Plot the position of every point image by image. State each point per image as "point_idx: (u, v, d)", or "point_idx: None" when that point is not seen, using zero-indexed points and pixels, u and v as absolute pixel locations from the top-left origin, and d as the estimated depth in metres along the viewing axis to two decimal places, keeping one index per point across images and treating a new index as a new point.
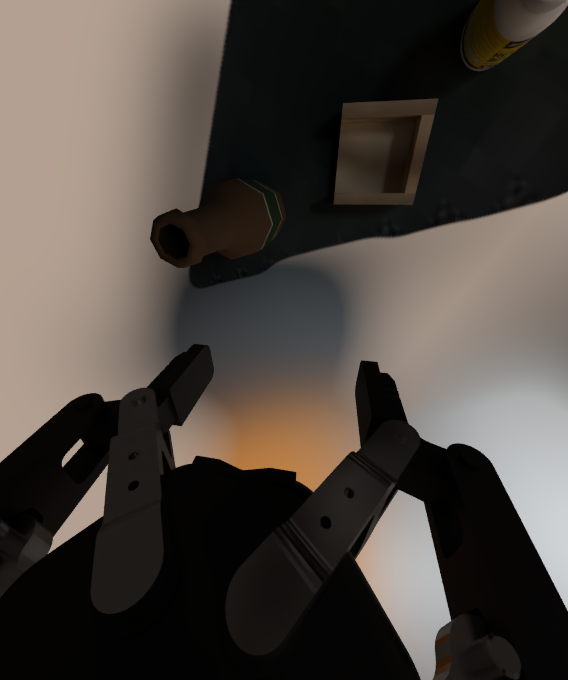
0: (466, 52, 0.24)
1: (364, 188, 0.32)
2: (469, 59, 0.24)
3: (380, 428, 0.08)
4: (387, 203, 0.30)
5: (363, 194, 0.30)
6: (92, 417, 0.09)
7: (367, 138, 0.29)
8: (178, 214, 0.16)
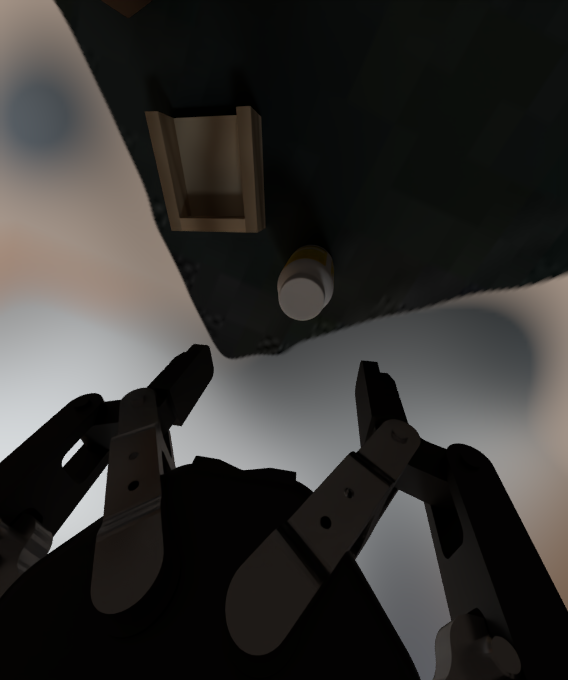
0: (296, 251, 0.27)
1: (187, 166, 0.25)
2: (291, 255, 0.27)
3: (380, 428, 0.08)
4: (165, 198, 0.24)
5: (166, 161, 0.23)
6: (92, 417, 0.09)
7: (233, 159, 0.24)
8: None
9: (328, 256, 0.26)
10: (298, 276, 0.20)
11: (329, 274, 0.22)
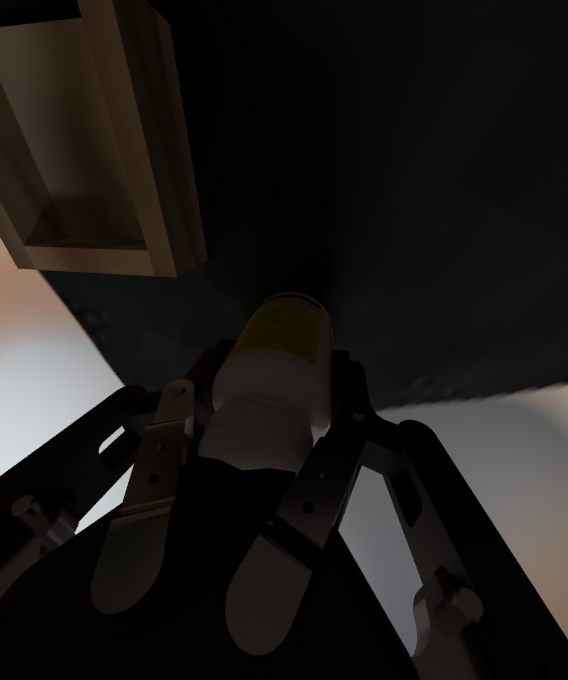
0: (262, 305, 0.14)
1: (35, 142, 0.12)
2: (255, 312, 0.15)
3: (341, 407, 0.09)
4: None
5: None
6: (137, 407, 0.09)
7: None
8: None
9: (323, 318, 0.14)
10: (238, 424, 0.07)
11: (324, 386, 0.10)
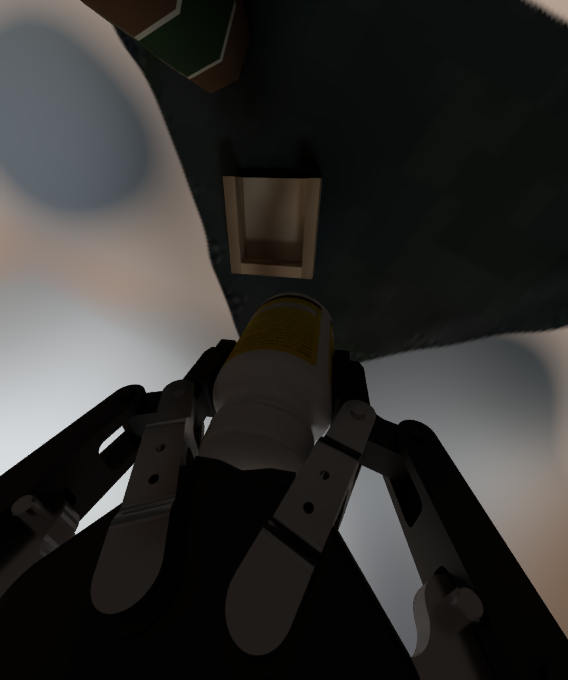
0: (263, 306, 0.14)
1: (249, 217, 0.27)
2: (255, 312, 0.15)
3: (341, 407, 0.09)
4: (230, 246, 0.27)
5: (236, 216, 0.25)
6: (137, 407, 0.09)
7: (293, 214, 0.27)
8: None
9: (323, 319, 0.14)
10: (239, 425, 0.07)
11: (324, 387, 0.10)
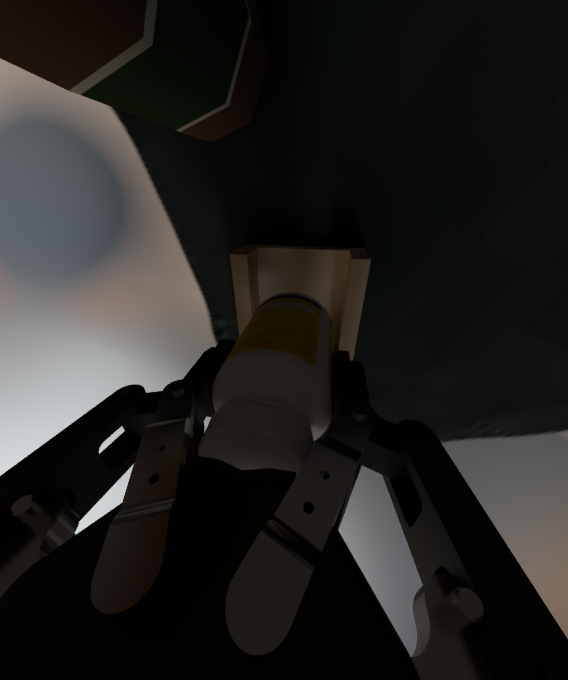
0: (262, 306, 0.14)
1: (264, 293, 0.21)
2: (255, 312, 0.15)
3: (341, 407, 0.09)
4: (240, 334, 0.20)
5: (248, 301, 0.19)
6: (137, 407, 0.09)
7: (325, 291, 0.20)
8: None
9: (323, 319, 0.14)
10: (238, 425, 0.07)
11: (324, 386, 0.10)
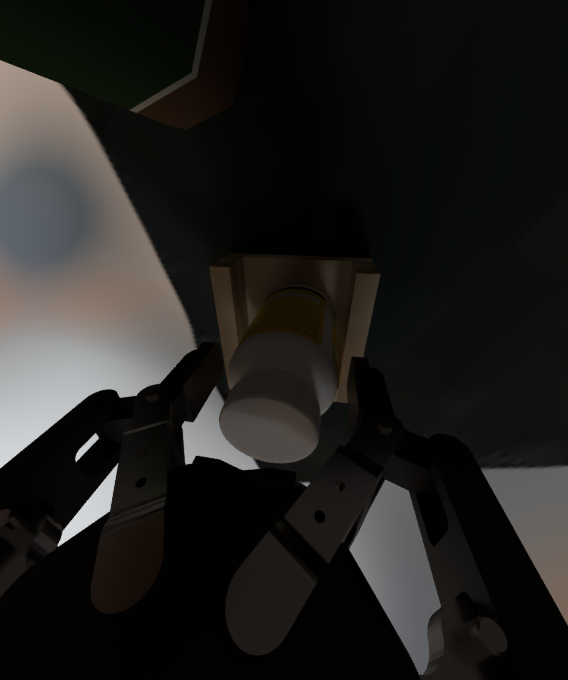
0: (271, 296, 0.15)
1: (253, 310, 0.18)
2: (263, 303, 0.16)
3: (366, 419, 0.08)
4: (225, 358, 0.17)
5: (233, 321, 0.16)
6: (109, 412, 0.09)
7: None
8: None
9: (327, 308, 0.15)
10: (257, 392, 0.09)
11: (329, 364, 0.11)
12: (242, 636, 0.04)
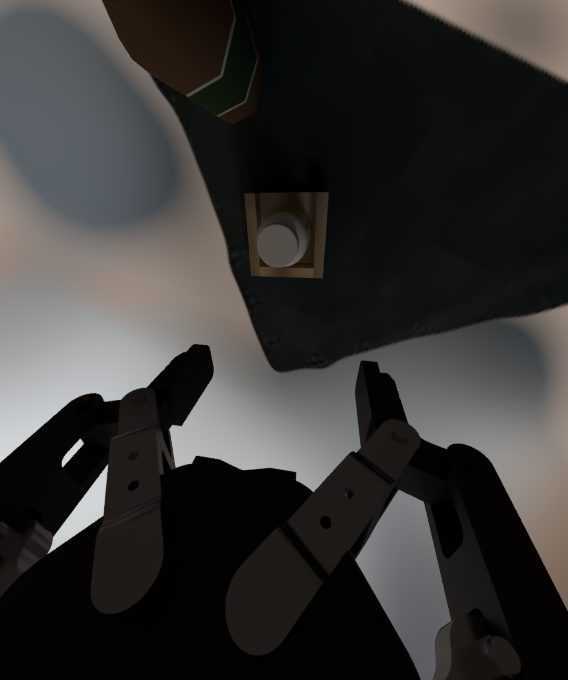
0: None
1: None
2: None
3: (380, 428, 0.08)
4: (250, 252, 0.31)
5: (255, 227, 0.29)
6: (92, 417, 0.09)
7: None
8: None
9: (305, 216, 0.28)
10: (273, 223, 0.22)
11: (303, 225, 0.24)
12: (240, 633, 0.04)
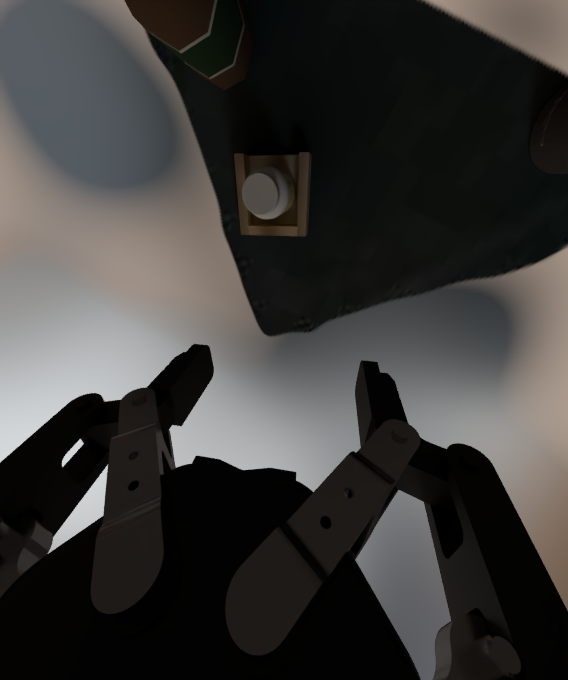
0: None
1: None
2: None
3: (380, 428, 0.08)
4: (240, 211, 0.34)
5: None
6: (92, 417, 0.09)
7: None
8: None
9: (289, 175, 0.31)
10: (255, 172, 0.25)
11: (284, 178, 0.27)
12: (240, 634, 0.04)
